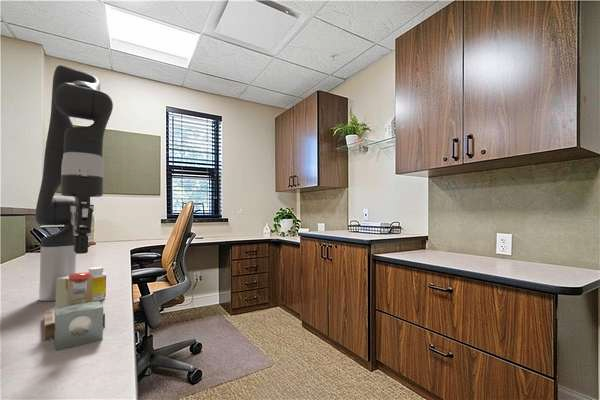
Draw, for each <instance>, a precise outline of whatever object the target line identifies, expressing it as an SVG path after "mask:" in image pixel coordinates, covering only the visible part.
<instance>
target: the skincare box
mask: <svg viewBox="0 0 600 400" xmlns="http://www.w3.org/2000/svg"><path fill="white" fill-rule="evenodd" d="M92 288H93V275H91V278H90V279H87V292H85V293H81V294H73V281H69V276H67V277H62V278H57V286H56V300H55V305H54V307H55V308H54V310H55V309H56V308H61V307H67V306H73V305H79V304H85V303H90V302H92ZM53 323H55V321H53Z"/></svg>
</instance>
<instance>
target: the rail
mask: <svg viewBox="0 0 600 400" xmlns="http://www.w3.org/2000/svg"><path fill="white" fill-rule="evenodd" d="M43 320H44V321H43V324H44V325H43V326H44V328H43V331H44V341H47V340H48V341H49V340H54V325H55V323H54V319H53V310H52V309H50V310H45V311H44V312H43ZM103 328H106V314H105V313H104V312H103Z"/></svg>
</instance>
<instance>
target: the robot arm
mask: <svg viewBox="0 0 600 400" xmlns="http://www.w3.org/2000/svg"><path fill="white" fill-rule="evenodd" d="M51 87H52V90H51V102H50V104H51V106H50V118H49V126H48V129H47V130H48V131H47V138H46V141H45V149H44V156H43V157H44V158H43V159H44V160H43V170H42V179H41V185H40V189H39V193H38V198H37V202H36V208H35V221H36V223H37V224H38V225H40V226H63V228H62V229H61V230H59V231H58V232H56V233H53V234H50V235H46V236H44V237H42V238H41V241H40V256H39V257H40V259H39V261H40V263H39V264H40V265H39V288H38V289H39V290H38V291H39V292H38V293H39V294H38V300H39V302H40V301H41V302H51V301H56V286H57V278H62V277H67V276H69V275H70V274H75V273H77V271H76V269H77V267H76V266H77V255H82V254H87V253H88V252H89V236H90V234H91V232H92V229H91V228H92V225H93V213H94V211H95V205H94V204H91V198H100V197H102V196H103V193H104V161H103V148H104V147H103V144H104V135H105V131H106V128H107V125H108V122H109V120H110V118H111V115H112V112H113V108H114V103H113V100H112V98H111V97H110V95H109V94H108V93H107V92H106V91H103V90H101V83H100V80H99V79H98V78H97V77H96V76H94V75H93V74H90V73H88V72H84V71H81V70H78V69H75V68H72V67H70V66H69V67H68V66H66V65H60V64H59V65H57V66H56V67H55V69H54V72H53V76H52V85H51ZM71 118H74V119H76V118H77V119H81V120H88V121H93V123H92V124H90V125H87V126H74V124H73V122H72V120H71ZM59 188H60V195H61V196H63V197H54V196H55V194H56V192H57V191H58V189H59ZM65 197H66V198H65ZM71 197H72V198H71Z"/></svg>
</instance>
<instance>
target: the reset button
mask: <svg viewBox="0 0 600 400" xmlns="http://www.w3.org/2000/svg"><path fill="white" fill-rule="evenodd" d="M90 278H91V273H90V272H89V271H88V272H76V273H75V274H70V275H69V281H73V294H81V293H85V292H87V279H90Z"/></svg>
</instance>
